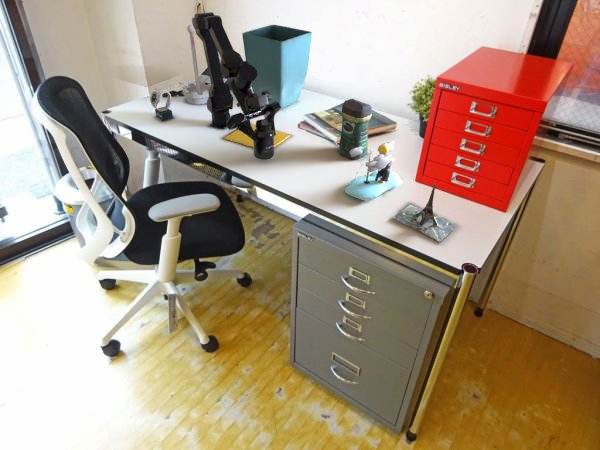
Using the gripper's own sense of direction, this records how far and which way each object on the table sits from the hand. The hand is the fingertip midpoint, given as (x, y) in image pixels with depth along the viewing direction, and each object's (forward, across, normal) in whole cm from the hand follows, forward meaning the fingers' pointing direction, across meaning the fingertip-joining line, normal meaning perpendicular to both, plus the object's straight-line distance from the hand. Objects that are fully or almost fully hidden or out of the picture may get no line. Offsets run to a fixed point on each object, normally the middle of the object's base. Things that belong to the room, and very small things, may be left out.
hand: (266, 139), depth 142 cm
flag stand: (-37, +11, +50) cm, 63 cm away
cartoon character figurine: (+30, +15, -18) cm, 38 cm away
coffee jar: (+16, +26, -4) cm, 31 cm away
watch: (-32, -9, +45) cm, 55 cm away
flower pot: (-20, +36, +33) cm, 53 cm away
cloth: (-6, +9, +18) cm, 21 cm away
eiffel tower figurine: (+44, +12, -33) cm, 57 cm away
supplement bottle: (+4, 0, +6) cm, 7 cm away
